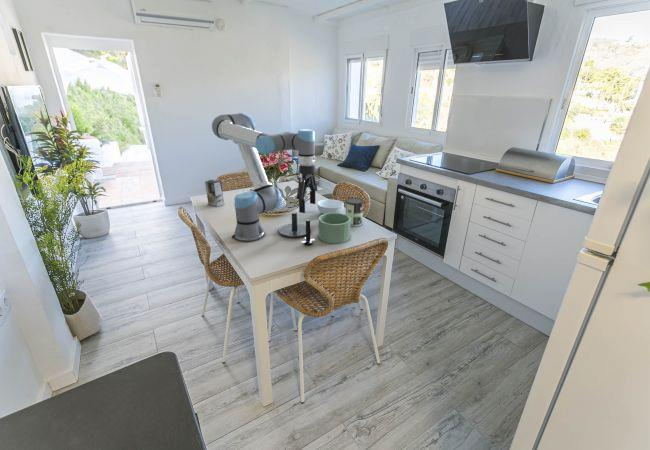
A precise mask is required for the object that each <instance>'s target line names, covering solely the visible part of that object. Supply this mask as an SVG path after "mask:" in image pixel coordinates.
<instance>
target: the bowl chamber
mask: <svg viewBox="0 0 650 450" xmlns="http://www.w3.org/2000/svg"><path fill="white" fill-rule="evenodd" d="M350 222H351V219H350V217H349V216H347V215H345V213H342V212H340V213H326V214H323V213H322V214H321V215H319V217H318V239H319V240H320V241H321V242H324V243H327V244H341V243H346V242H347V241H349V240H350V239H351V238H350V237H351V226H350Z"/></svg>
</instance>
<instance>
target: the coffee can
mask: <svg viewBox="0 0 650 450" xmlns="http://www.w3.org/2000/svg"><path fill="white" fill-rule="evenodd" d="M363 212H364V200H363V198H359V197H348V198H346V199H345V213H344V214H345V215H347V216H349V217H350V219H351V222H350V227H359V226H361V225H363Z"/></svg>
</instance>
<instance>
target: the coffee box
mask: <svg viewBox="0 0 650 450" xmlns="http://www.w3.org/2000/svg"><path fill="white" fill-rule="evenodd" d="M204 186H205V191H206V197H207V204H208V205H210V206H214V207H220V206H223V205H225V201H224V194H223V193H224V192H223V186H222V181H221V180H217V179H209V180H206V181H204Z"/></svg>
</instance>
